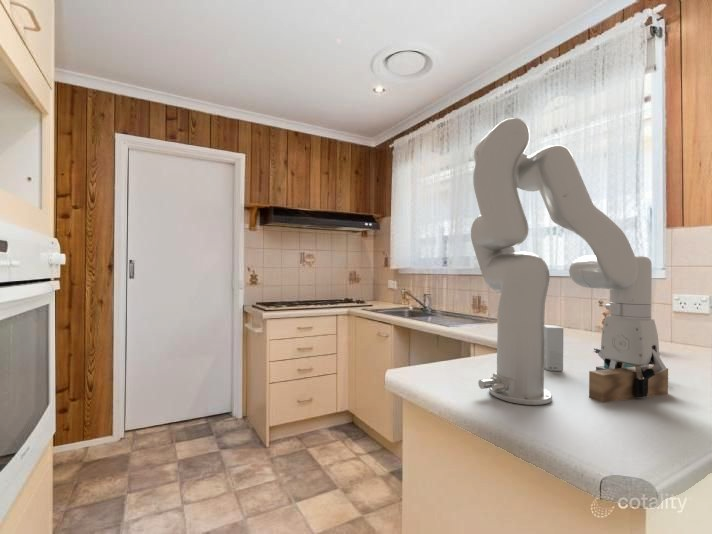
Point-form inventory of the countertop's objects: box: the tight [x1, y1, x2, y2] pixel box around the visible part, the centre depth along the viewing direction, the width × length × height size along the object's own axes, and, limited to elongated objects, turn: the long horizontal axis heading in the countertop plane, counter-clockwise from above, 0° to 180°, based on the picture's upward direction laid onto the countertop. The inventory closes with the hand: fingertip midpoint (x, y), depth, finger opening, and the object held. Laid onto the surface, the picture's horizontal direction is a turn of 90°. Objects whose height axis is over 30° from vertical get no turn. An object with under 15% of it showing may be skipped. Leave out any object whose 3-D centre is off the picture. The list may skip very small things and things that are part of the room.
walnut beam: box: [588, 364, 669, 403], centre depth 82 cm, size 20×3×6 cm, turn 108°
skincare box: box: [544, 324, 564, 372], centre depth 105 cm, size 6×4×12 cm
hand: (629, 392), depth 82 cm, fingers open, 4 cm apart
